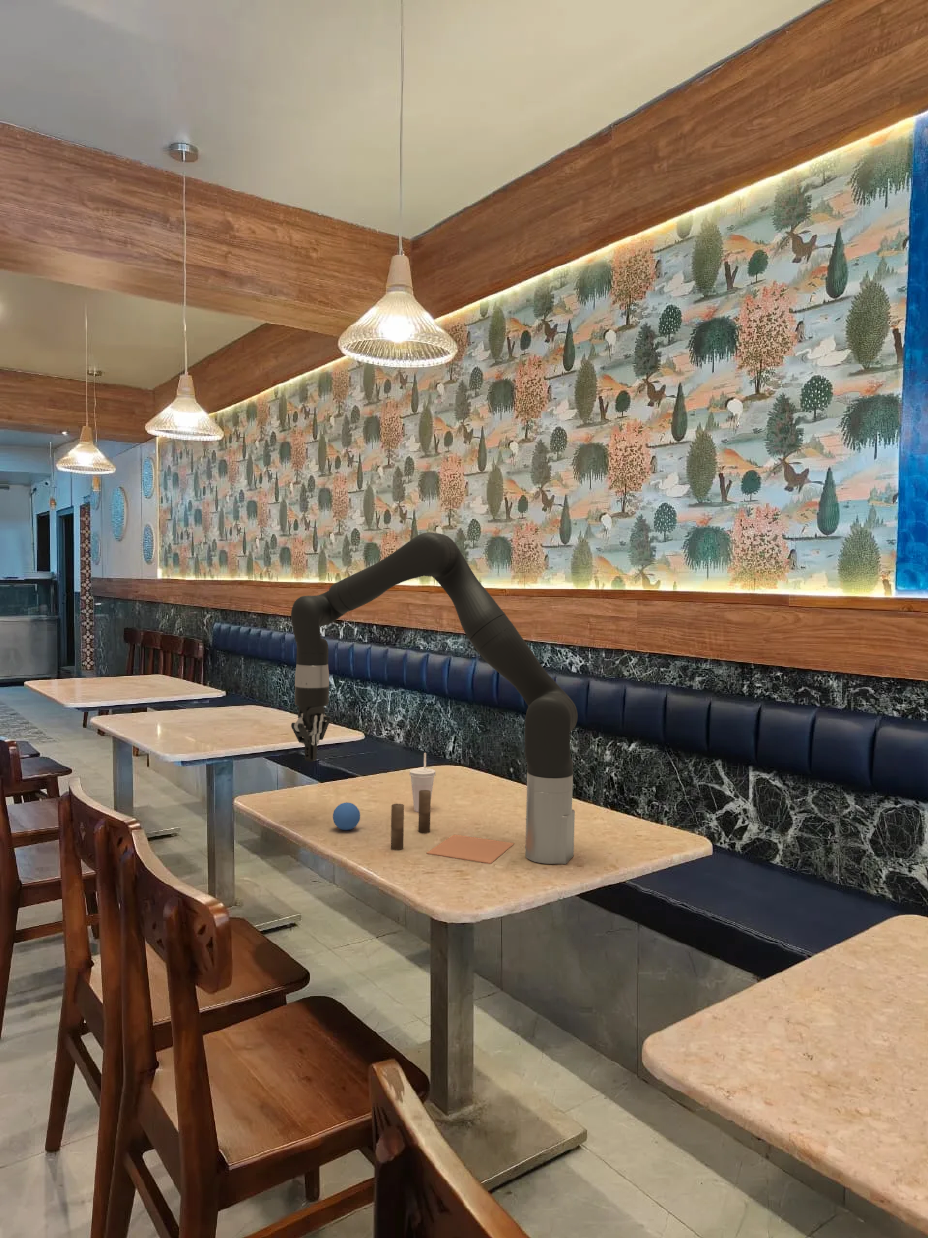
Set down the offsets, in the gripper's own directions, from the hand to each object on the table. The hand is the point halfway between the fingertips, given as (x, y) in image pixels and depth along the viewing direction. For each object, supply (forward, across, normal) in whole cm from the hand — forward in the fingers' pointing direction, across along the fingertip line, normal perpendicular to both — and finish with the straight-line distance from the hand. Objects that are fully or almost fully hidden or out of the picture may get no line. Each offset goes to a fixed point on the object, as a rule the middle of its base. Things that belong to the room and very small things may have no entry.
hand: (310, 760), depth 192 cm
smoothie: (+15, +22, -18) cm, 32 cm away
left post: (+14, -7, -26) cm, 30 cm away
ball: (+11, 0, -10) cm, 15 cm away
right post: (+14, +6, -26) cm, 30 cm away
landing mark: (+14, 0, -40) cm, 42 cm away
